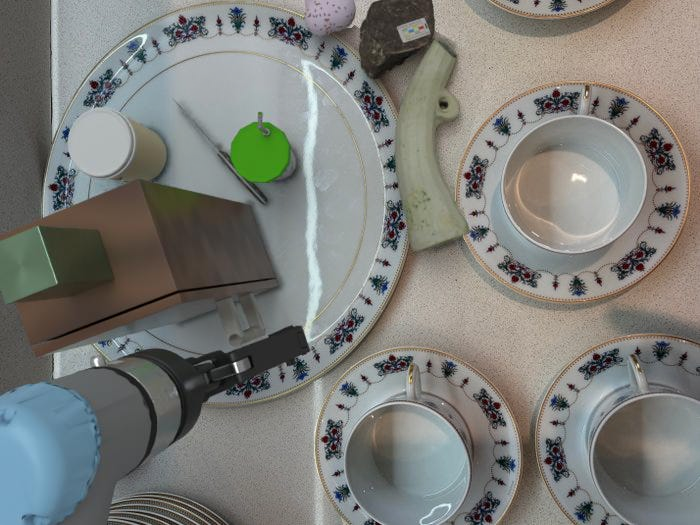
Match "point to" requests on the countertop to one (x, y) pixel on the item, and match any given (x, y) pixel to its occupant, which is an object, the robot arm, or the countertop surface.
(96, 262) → the green rectangular block
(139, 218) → the cupboard
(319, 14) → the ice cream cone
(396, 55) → the rock
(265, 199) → the knife
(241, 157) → the cup
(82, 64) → the countertop surface
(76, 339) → the cupboard door
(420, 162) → the pale green curved piece
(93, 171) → the coffee cup
